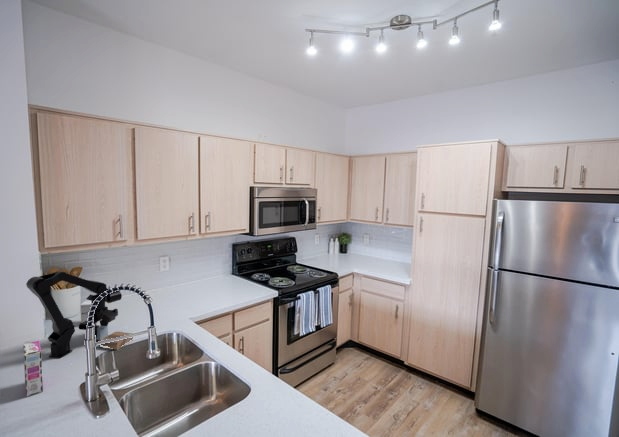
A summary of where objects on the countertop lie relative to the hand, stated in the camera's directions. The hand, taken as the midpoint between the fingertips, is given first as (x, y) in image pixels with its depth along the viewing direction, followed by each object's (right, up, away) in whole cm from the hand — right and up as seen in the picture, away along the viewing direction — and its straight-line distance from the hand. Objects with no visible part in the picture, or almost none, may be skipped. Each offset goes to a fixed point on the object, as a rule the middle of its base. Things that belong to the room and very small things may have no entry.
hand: (99, 335), depth 157 cm
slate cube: (0, -1, 0) cm, 1 cm away
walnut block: (+11, -3, -4) cm, 13 cm away
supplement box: (-18, 0, +19) cm, 26 cm away
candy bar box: (+1, -6, -39) cm, 39 cm away
